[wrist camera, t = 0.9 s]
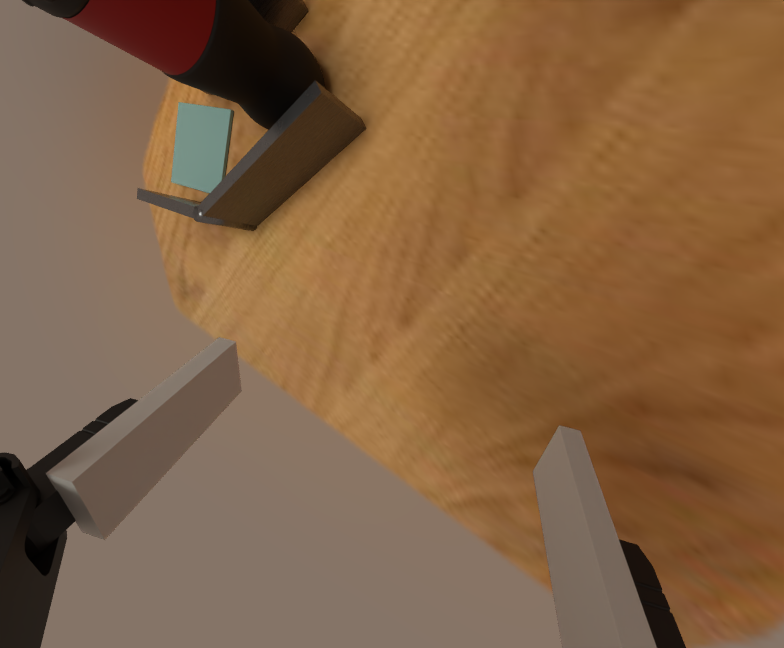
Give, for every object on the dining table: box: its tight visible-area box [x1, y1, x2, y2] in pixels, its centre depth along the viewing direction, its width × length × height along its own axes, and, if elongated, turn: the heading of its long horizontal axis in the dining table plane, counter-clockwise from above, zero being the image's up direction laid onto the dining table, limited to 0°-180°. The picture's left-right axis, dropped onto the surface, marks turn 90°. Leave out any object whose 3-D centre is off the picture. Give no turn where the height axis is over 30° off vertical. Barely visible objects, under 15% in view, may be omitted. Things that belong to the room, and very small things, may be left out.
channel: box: [137, 0, 366, 231], centre depth 37 cm, size 26×19×7 cm
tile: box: [171, 102, 234, 193], centre depth 43 cm, size 10×10×1 cm
